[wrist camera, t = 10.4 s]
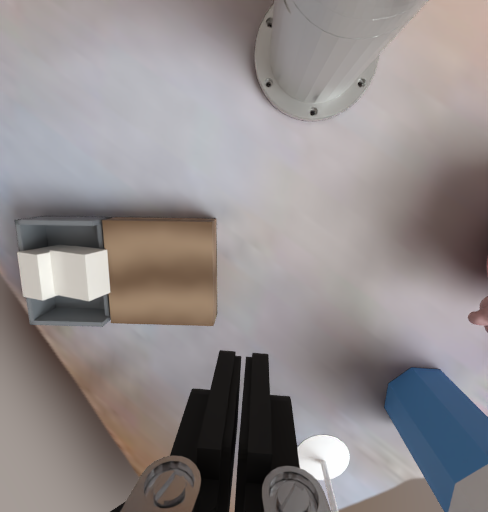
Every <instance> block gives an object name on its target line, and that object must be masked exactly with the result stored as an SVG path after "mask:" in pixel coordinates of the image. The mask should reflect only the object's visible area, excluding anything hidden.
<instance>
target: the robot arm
mask: <svg viewBox="0 0 488 512" xmlns="http://www.w3.org/2000/svg"><path fill="white" fill-rule="evenodd" d="M428 1H429V0H274V4H273V5H272V6H271V8H270V9H269V11H268V12H267V13H266V15H265V17H264V19H263V21H262V23H261V25H260V27H259V30H258V34H257V38H256V42H255V52H254V59H255V69H256V75H257V78H258V81H259V84H260V87H261V89H262V91H263V92H264V94H265V96H266V97H267V99H268V100H269V101H270V102H271V103H272V104H273V106H274V107H276V108H277V109H278V110H280V111H281V112H282V113H284V114H286V115H288V116H290V117H292V118H295V119H299V120H302V121H320V120H326V119H329V118H332V117H334V116H337V115H339V114H340V113H342V112H344V111H345V110H347V109H348V108H349V107H351V106H352V105H353V104H354V103H355V102H356V101H357V100H358V99H359V98H360V97H361V96H362V95H363V94H364V92H365V91H366V89H367V88H368V86H369V85H370V83H371V80H372V78H373V76H374V74H375V71H376V68H377V64H378V60H379V54H380V53H381V52H382V51H383V50H384V49H385V48H386V47H387V46H388V44H389V43H390V42H391V41H392V40H393V39H394V38H395V37H396V36H397V35H398V34H399V32H400V31H401V30H402V29H403V28H404V27H405V26H406V25H407V24H408V23H409V22H410V20H411V19H412V18H413V17H414V16H415V15H416V14H417V13H418V12H419V11H420V10H421V8H422V7H423V6H424V5H425V4H426V3H427V2H428ZM268 25H272V27H268ZM267 83H270V84H271V86H270V87H267V86H266V84H267ZM358 83H361V87H359V86H358ZM310 111H313V112H314V115H311V114H310ZM240 369H241V356H235V352H234V351H221V350H220V352H219V356H218V360H217V364H216V368H215V373H214V377H213V381H212V385H211V389H210V390H205V389H192V390H191V393H190V396H189V399H188V402H187V405H186V408H185V411H184V414H183V417H182V421H181V424H180V427H179V430H178V433H177V436H176V439H175V442H174V445H173V448H172V451H171V454H170V456H167V457H163V458H161V459H159V460H156V461H154V462H153V463H152V464H151V465H149V466H148V467H147V468H146V469H145V471H144V472H143V473H142V475H141V476H140V478H139V480H138V481H137V483H136V485H135V487H134V489H133V490H132V492H131V494H130V495H129V497H128V499H127V501H126V502H124V503H123V504H121V505H120V506H118V507H117V508H115V509H114V510H112V511H111V512H229V507H230V497H231V486H232V476H233V465H234V455H235V444H236V434H237V421H238V404H239V387H240ZM235 512H331V511H330V508H329V505H328V502H327V499H326V496H325V493H324V491H323V489H322V487H321V485H320V483H319V482H318V481H317V480H316V479H315V478H314V477H313V476H312V475H311V474H310V473H308V472H307V471H305V470H303V469H300V465H299V458H298V450H297V443H296V435H295V428H294V420H293V413H292V405H291V399H290V396H277V395H270V386H269V361H268V354H260V353H253V354H252V357H246V365H245V377H244V389H243V401H242V413H241V425H240V437H239V450H238V465H237V482H236V498H235Z"/></svg>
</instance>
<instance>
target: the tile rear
mask: <svg viewBox="0 0 488 512" xmlns="http://www.w3.org/2000/svg"><path fill="white" fill-rule="evenodd" d="M64 247H69V246H67V245H54V246H49V247H43V248H37V249H32V250H26V251H20V252H17V255H18V262H19V269H20V277H21V284H22V292H23V297H28V298H32V299H37V300H42V301H43V300H46V299H49V298H52V297H55V296H58V295H55V293H54V285H53V276H52V268H51V259H50V251H49V250H53V249H58V248H64Z"/></svg>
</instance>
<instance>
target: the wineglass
mask: <svg viewBox="0 0 488 512" xmlns="http://www.w3.org/2000/svg"><path fill="white" fill-rule="evenodd" d="M297 450H298V458H299V465H300V469H303V470H305V471H307V472H308V473H310V474H311V475H312V476H313V477H314V478H315V479H316V480H325V485H326V489H327V493H328V498H329V502H330V506H331V511H332V512H338V508H337V504H336V500H335V496H334V492H333V488H332V484H331V480H330V479H333V478H335V477H337V476H339V475H340V474H341V473H342V472H343V471H344V470H345V469H346V468H347V466H348V464H349V458H350V455H349V451H348V448H347V447H346V446H345V444H344V443H343V442H342V441H340V440H339V439H337V438H335V437H332V436H329V435H317V436H313V437H310V438H308V439H306V440H304V441H303V442H302V443H301V444H300V445H299V446H298V449H297Z"/></svg>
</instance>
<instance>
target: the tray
mask: <svg viewBox="0 0 488 512" xmlns="http://www.w3.org/2000/svg"><path fill="white" fill-rule="evenodd" d="M110 218H112V217H66V216H40V217H33V218H26V219H18V220H15V226H16V233H17V240H18V246H19V252H20V251H26V250H32V249H37V248H43V247H49V246H54V245H67V246H81V247H90V248H98V249H105V248H104V236H103V225H102V220H106V219H110ZM26 300H27V307H28V314H29V320H30V324H31V325H61V326H96V327H103V326H104V325H105V324H106V323H107V322H109V321H110V320H111V316H110V305H109V293H108V294H106V295H103V296H101V297H98V298H96V299H93V300H91V301H85V300H80V299H75V298H70V297H65V296H60V295H58V296H55V297H52V298H49V299H46V300H43V301H42V300H37V299H32V298H28V297H26Z"/></svg>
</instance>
